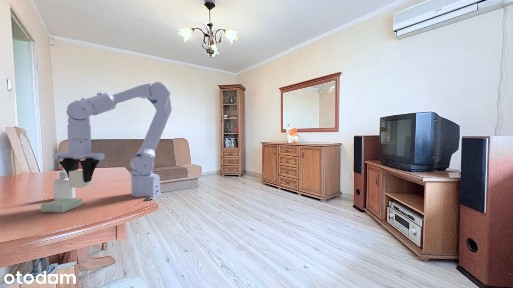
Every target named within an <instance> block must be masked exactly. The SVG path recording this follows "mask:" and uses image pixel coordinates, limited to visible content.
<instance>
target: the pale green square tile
mask: <svg viewBox="0 0 513 288" xmlns="http://www.w3.org/2000/svg"><path fill="white" fill-rule="evenodd" d="M85 205H86V203H82V205H80V206H77V207H75V208H72V209H70V210H67V211H64V212H41V210H39V211H37V212H36V214H66V213H68V212H70V211H73V210H75V209H77V208H79V207H83V206H85Z"/></svg>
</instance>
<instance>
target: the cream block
mask: <svg viewBox="0 0 513 288" xmlns="http://www.w3.org/2000/svg"><path fill="white" fill-rule="evenodd" d="M92 179H93V178H92ZM92 179H91V181H89V182H84V179H83V169H78V170H75V171H70V172H69V187H75V189H76V188H81V189H82V188H86V187H88V186H89V187H90V186H92V184H93V182H92Z"/></svg>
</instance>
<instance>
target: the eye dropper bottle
mask: <svg viewBox="0 0 513 288" xmlns="http://www.w3.org/2000/svg"><path fill="white" fill-rule="evenodd" d="M58 175H59V176H58V178H57V179H55V180H54V181H53V201H55V200H58V199H61V198H76V188H75V187H69V178H68V176H67V173H66V171H65V170H64V168H63V167H62V169H61V171H59V173H58Z"/></svg>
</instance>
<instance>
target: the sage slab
mask: <svg viewBox="0 0 513 288" xmlns="http://www.w3.org/2000/svg"><path fill="white" fill-rule="evenodd" d="M82 204H83V198H79V197H78V198H76V197H75V198H61V199H58V200H52V201H49V202H46V203H42V204H40V211H41V212H64V211H67V210H70V209H72V208H75V207H77V206H80V205H82ZM82 206H83V205H82ZM80 207H81V206H80ZM75 209H76V208H75Z"/></svg>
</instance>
